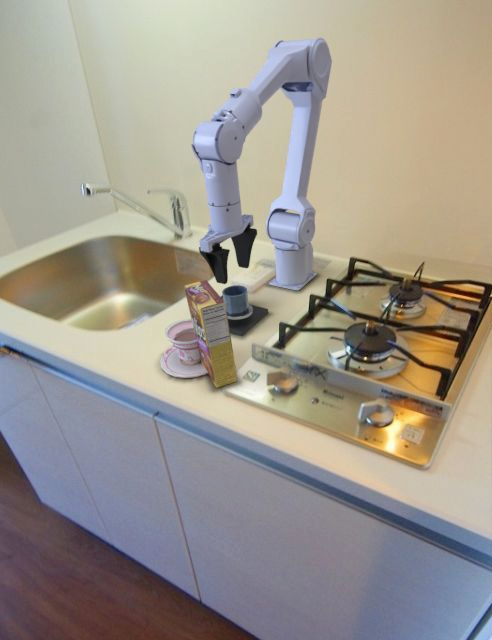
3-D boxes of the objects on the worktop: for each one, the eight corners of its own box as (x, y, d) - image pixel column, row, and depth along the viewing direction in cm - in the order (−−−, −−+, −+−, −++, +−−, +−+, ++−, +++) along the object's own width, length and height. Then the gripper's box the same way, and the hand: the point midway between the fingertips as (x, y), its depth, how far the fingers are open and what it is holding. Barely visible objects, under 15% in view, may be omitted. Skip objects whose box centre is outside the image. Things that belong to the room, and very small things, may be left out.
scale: (232, 301, 95) (230, 288, 93) (271, 311, 91) (270, 298, 89) (200, 325, 88) (198, 312, 86) (242, 336, 83) (240, 323, 82)
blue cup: (233, 301, 87) (231, 283, 85) (253, 306, 85) (252, 288, 83) (219, 312, 84) (217, 293, 82) (240, 317, 82) (238, 298, 80)
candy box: (198, 362, 78) (182, 284, 68) (220, 355, 79) (208, 278, 69) (214, 389, 71) (199, 308, 61) (238, 382, 72) (227, 300, 63)
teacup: (236, 347, 81) (233, 319, 77) (205, 385, 73) (199, 355, 69) (183, 337, 85) (177, 309, 81) (147, 371, 77) (139, 342, 73)
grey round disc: (234, 302, 88) (233, 299, 88) (258, 308, 86) (258, 305, 85) (217, 315, 84) (216, 313, 84) (242, 322, 82) (241, 319, 81)
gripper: (229, 188, 81) (236, 257, 90) (180, 211, 72) (194, 286, 81) (260, 191, 78) (265, 262, 87) (213, 216, 69) (224, 293, 78)
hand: (233, 274), depth 84 cm, fingers open, 7 cm apart
